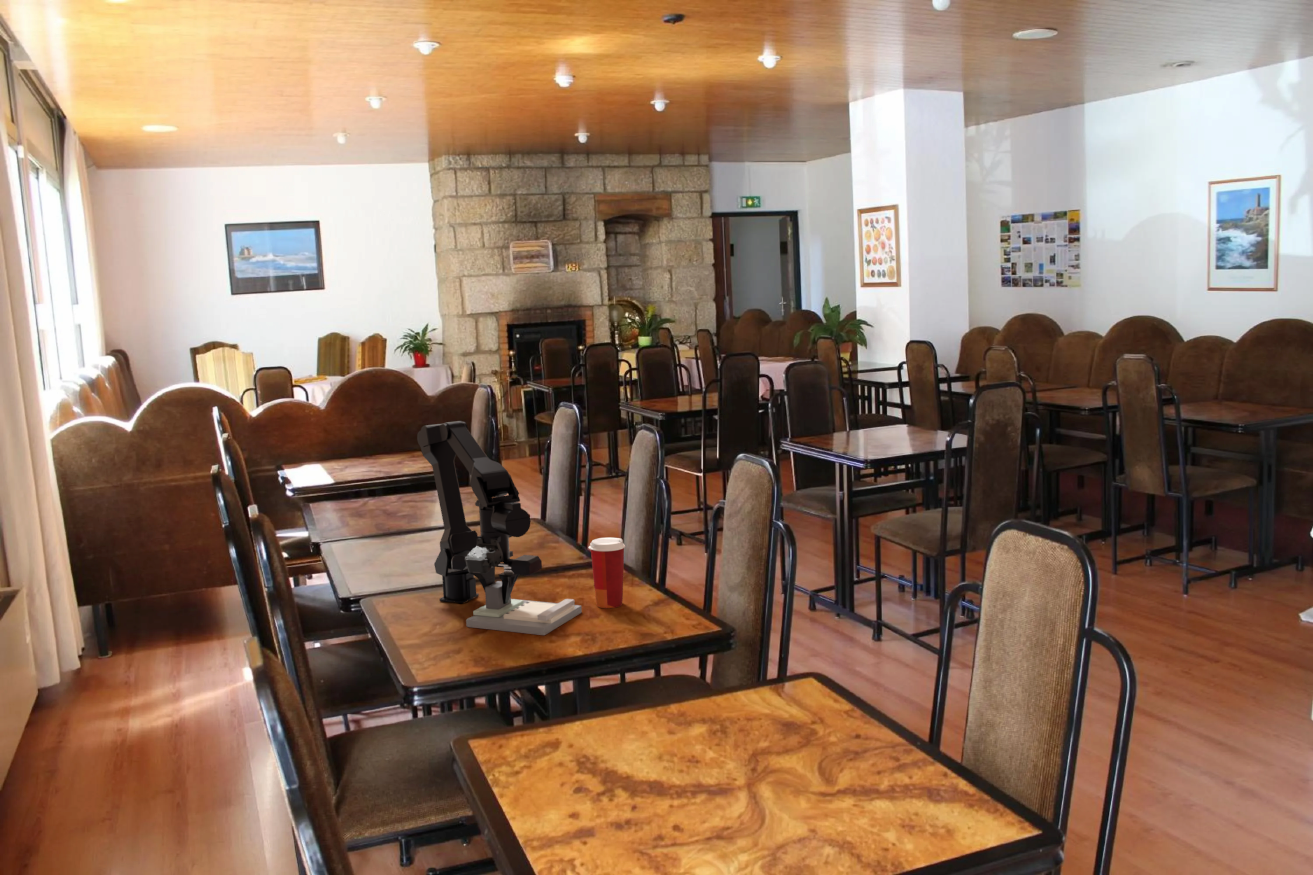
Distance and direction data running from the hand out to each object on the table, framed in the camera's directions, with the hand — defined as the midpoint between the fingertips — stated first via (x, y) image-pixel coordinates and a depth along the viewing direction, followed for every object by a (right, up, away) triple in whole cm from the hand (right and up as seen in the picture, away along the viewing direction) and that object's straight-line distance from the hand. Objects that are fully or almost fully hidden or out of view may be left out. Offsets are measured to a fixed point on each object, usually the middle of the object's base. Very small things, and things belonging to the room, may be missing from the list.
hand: (498, 602), depth 231 cm
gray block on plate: (0, -1, 0) cm, 1 cm away
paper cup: (+23, -2, +7) cm, 24 cm away
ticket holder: (+6, -3, -2) cm, 7 cm away
